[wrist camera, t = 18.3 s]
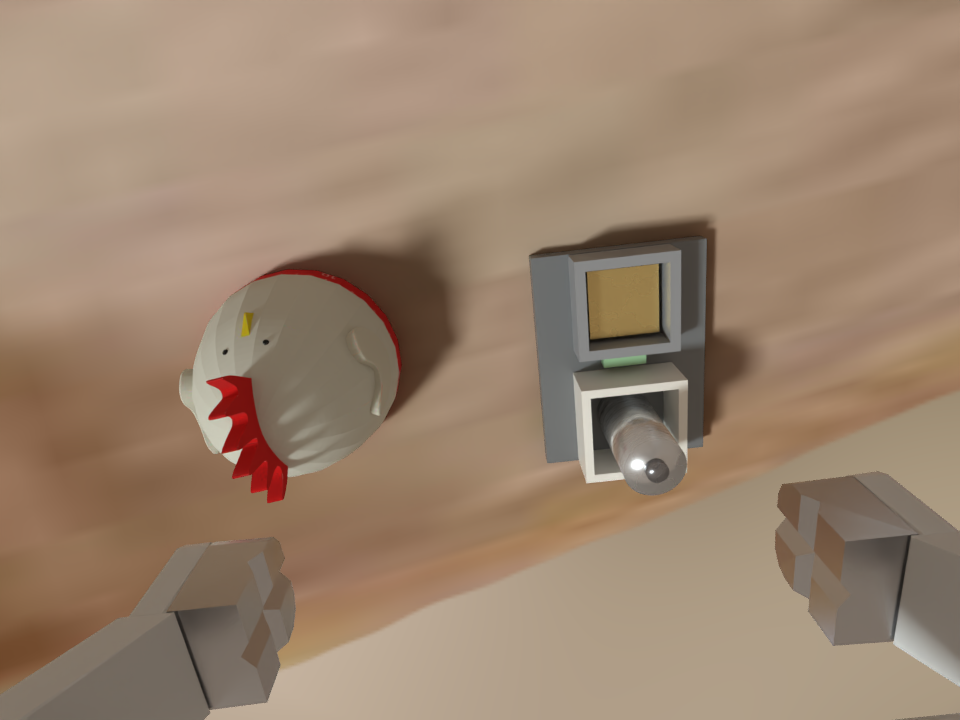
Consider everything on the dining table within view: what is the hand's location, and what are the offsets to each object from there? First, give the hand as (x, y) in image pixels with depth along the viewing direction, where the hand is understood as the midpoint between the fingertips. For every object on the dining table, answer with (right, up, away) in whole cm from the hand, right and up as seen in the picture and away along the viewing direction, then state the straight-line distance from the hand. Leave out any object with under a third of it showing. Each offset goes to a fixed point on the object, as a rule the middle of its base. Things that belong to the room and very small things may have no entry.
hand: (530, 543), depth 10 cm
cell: (+10, -1, +36) cm, 37 cm away
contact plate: (+9, +7, +32) cm, 34 cm away
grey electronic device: (+9, +3, +35) cm, 37 cm away
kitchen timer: (-14, +3, +35) cm, 38 cm away
